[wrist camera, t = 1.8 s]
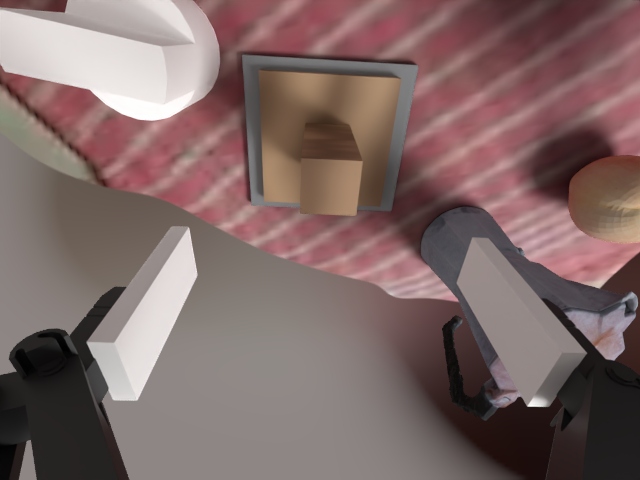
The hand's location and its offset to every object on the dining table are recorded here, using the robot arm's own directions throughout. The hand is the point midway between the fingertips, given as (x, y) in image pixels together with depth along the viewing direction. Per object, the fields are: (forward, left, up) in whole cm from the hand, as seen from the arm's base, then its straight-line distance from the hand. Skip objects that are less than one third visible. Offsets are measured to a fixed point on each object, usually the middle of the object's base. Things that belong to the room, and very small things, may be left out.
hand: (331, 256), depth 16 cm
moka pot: (-16, +11, -20) cm, 28 cm away
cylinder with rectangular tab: (+14, -7, -20) cm, 25 cm away
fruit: (-28, +3, -20) cm, 35 cm away
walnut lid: (0, 0, -19) cm, 19 cm away
